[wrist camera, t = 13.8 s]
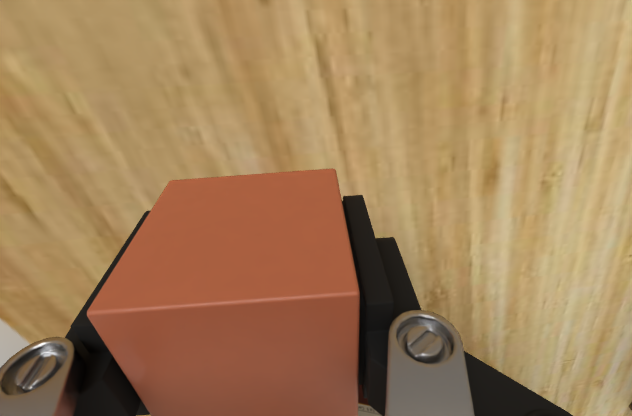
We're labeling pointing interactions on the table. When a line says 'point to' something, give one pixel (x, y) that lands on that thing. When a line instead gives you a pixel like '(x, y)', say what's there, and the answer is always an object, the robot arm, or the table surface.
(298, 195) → the block
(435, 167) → the table surface
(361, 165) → the table surface
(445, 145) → the table surface
